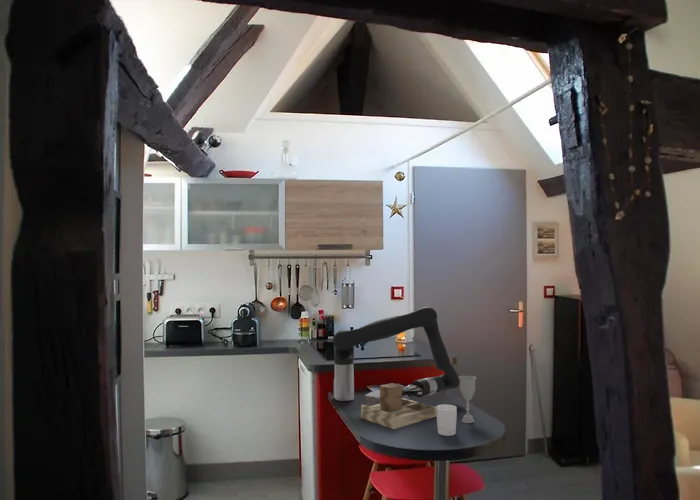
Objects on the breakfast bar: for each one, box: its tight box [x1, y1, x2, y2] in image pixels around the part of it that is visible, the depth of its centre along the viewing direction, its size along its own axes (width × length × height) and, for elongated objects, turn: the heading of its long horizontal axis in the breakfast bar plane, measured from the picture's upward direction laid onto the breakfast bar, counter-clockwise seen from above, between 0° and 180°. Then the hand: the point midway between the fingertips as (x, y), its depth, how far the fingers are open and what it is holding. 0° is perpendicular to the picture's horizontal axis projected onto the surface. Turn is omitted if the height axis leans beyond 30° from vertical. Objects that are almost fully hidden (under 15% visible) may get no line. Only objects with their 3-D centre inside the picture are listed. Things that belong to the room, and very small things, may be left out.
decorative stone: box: [364, 389, 380, 406], centre depth 240 cm, size 15×7×10 cm
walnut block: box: [379, 382, 403, 412], centre depth 223 cm, size 6×7×10 cm
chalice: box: [458, 375, 477, 424], centre depth 219 cm, size 7×7×18 cm
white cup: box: [435, 403, 458, 437], centre depth 204 cm, size 8×8×10 cm
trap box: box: [360, 397, 437, 430], centre depth 225 cm, size 20×25×6 cm
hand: (396, 393), depth 225 cm, fingers closed
